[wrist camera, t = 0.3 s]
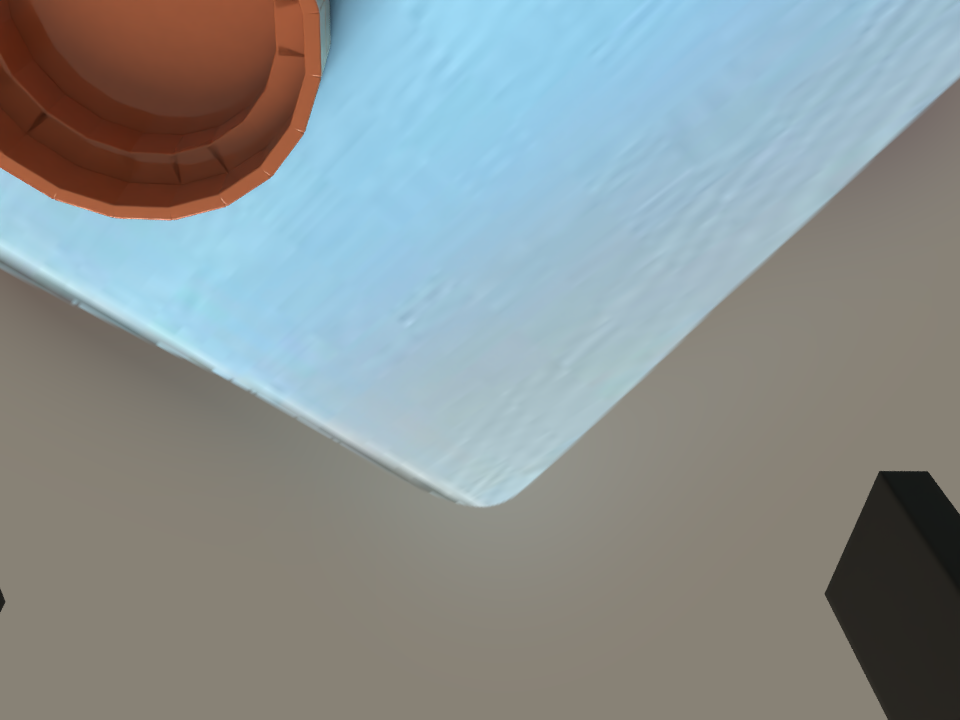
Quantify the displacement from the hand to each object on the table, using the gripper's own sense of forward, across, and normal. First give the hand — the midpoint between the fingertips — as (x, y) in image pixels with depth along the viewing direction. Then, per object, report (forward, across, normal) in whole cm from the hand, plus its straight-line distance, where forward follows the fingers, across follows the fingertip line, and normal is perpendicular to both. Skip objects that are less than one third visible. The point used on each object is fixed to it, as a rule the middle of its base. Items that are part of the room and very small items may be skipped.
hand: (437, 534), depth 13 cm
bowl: (+28, -11, +1) cm, 30 cm away
